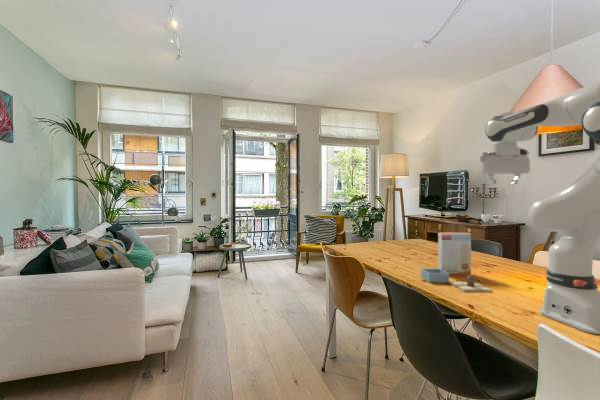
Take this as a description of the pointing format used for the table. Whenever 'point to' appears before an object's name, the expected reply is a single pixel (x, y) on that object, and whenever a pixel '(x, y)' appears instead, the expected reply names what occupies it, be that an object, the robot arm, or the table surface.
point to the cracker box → (454, 253)
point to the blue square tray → (435, 275)
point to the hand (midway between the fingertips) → (503, 184)
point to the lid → (471, 286)
